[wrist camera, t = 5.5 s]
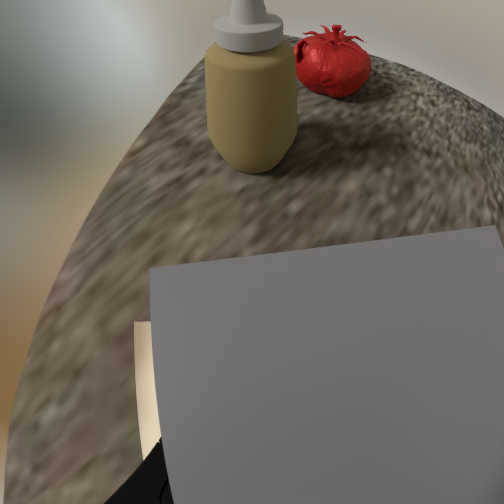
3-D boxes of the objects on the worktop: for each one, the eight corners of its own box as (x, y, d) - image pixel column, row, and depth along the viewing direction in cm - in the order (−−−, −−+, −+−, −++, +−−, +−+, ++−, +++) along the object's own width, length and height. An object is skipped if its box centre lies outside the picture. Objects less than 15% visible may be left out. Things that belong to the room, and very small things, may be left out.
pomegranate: (372, 84, 34) (390, 31, 25) (346, 116, 31) (365, 52, 22) (311, 57, 36) (319, 5, 27) (275, 84, 33) (279, 21, 24)
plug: (342, 424, 12) (520, 506, 1) (246, 440, 12) (207, 610, 1) (329, 336, 14) (494, 225, 3) (235, 349, 14) (149, 267, 3)
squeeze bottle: (208, 132, 30) (179, -26, 13) (281, 120, 30) (289, -35, 14) (219, 192, 27) (181, -2, 10) (304, 176, 27) (335, -10, 10)
